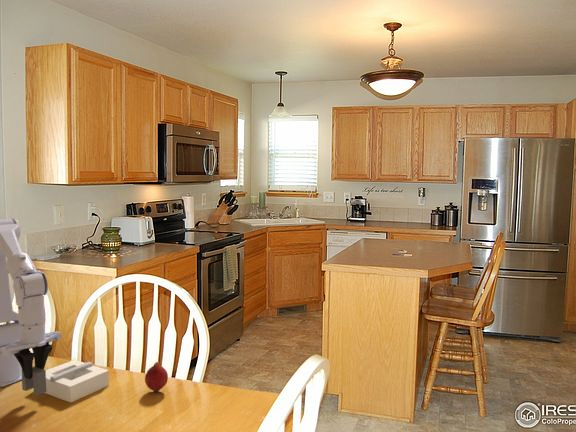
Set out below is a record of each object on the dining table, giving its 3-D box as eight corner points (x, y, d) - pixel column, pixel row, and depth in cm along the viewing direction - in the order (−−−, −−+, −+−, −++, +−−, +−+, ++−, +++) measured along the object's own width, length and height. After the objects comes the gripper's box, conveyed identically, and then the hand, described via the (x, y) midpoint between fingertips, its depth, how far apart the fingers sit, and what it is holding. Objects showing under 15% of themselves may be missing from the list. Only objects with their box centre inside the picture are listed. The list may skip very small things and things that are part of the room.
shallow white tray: (35, 389, 139) (35, 371, 139) (74, 374, 150) (74, 357, 149) (70, 402, 132) (70, 383, 132) (109, 385, 143) (108, 367, 142)
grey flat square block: (22, 389, 132) (21, 368, 131) (31, 386, 134) (30, 365, 133) (37, 395, 129) (36, 373, 128) (46, 391, 131) (45, 370, 130)
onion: (162, 397, 136) (161, 367, 135) (141, 395, 137) (140, 365, 136) (171, 388, 142) (171, 359, 141) (151, 385, 143) (151, 357, 142)
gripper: (13, 333, 121) (15, 390, 123) (68, 317, 133) (69, 369, 135) (-5, 328, 125) (-2, 383, 126) (50, 313, 137) (52, 363, 139)
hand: (33, 375), depth 131 cm, fingers closed on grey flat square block, 2 cm apart
